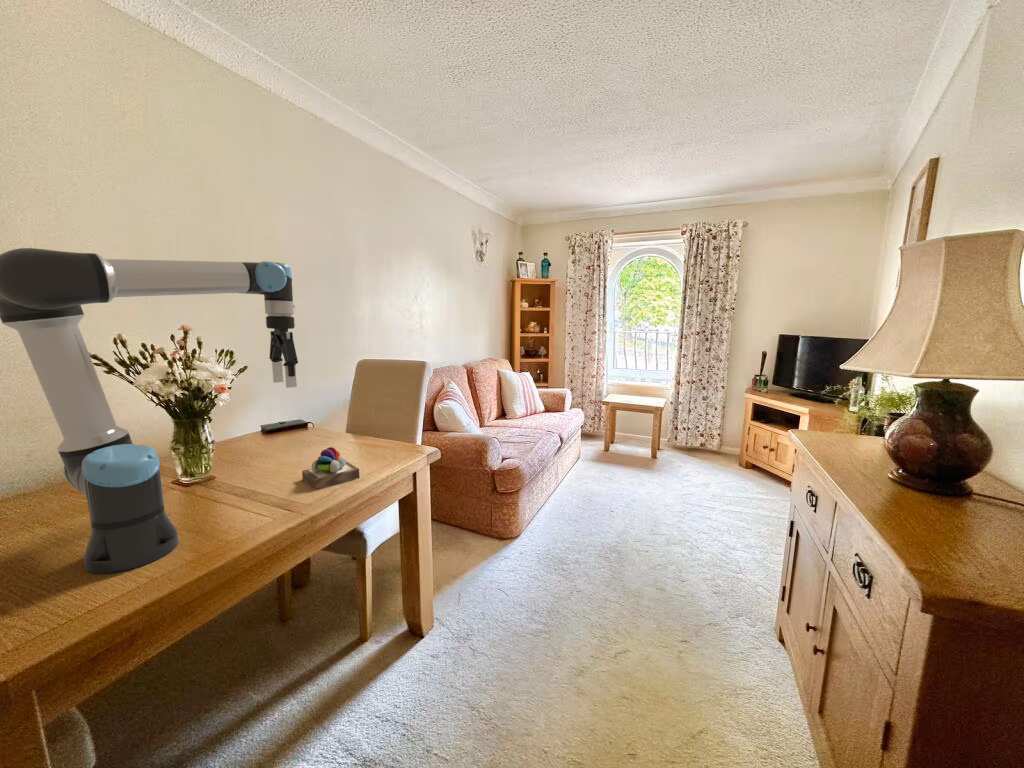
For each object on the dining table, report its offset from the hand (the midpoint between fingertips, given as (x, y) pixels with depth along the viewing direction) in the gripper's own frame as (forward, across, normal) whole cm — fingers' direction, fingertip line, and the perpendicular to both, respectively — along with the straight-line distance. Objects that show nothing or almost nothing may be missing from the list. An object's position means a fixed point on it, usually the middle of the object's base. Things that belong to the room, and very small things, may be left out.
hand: (284, 384), depth 127 cm
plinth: (+31, -7, -10) cm, 34 cm away
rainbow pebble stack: (+28, -7, -10) cm, 31 cm away
